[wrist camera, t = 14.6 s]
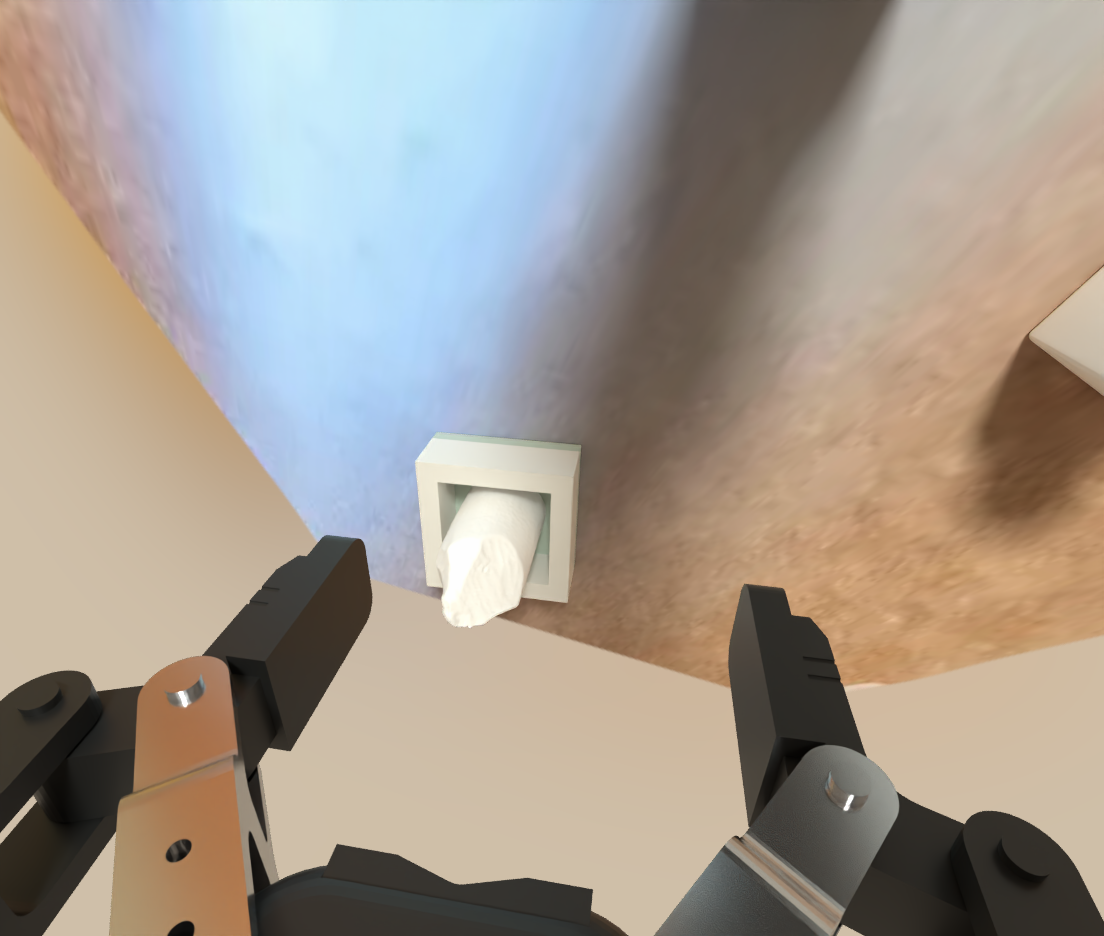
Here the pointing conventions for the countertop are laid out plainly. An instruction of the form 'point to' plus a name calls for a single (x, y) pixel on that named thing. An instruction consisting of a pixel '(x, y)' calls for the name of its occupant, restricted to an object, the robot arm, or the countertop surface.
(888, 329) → the countertop surface
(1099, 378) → the medicine bottle
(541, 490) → the socket
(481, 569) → the roll
